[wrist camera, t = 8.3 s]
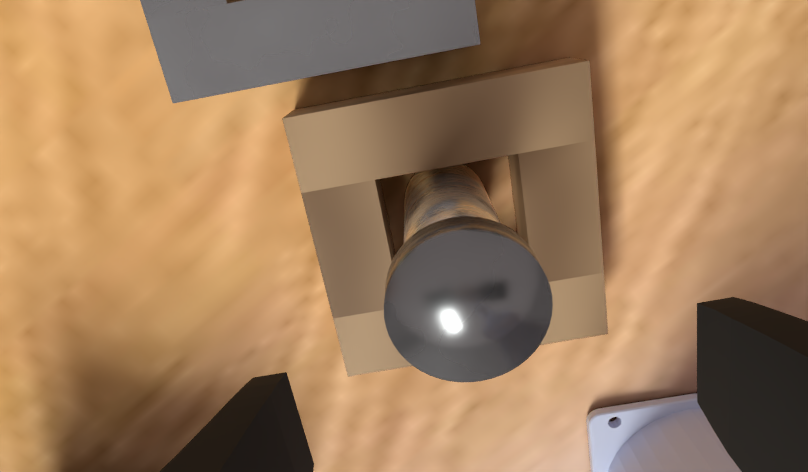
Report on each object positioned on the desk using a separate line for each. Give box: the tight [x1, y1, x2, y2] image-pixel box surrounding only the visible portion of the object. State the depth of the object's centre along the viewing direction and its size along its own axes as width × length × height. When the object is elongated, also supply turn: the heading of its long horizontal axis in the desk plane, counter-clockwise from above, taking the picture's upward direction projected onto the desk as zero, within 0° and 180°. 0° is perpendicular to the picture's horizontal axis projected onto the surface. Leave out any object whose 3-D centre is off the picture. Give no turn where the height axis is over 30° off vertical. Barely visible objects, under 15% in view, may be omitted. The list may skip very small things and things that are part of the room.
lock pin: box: [384, 164, 553, 382], centre depth 16 cm, size 4×4×8 cm
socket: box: [283, 57, 608, 376], centre depth 19 cm, size 9×9×2 cm
